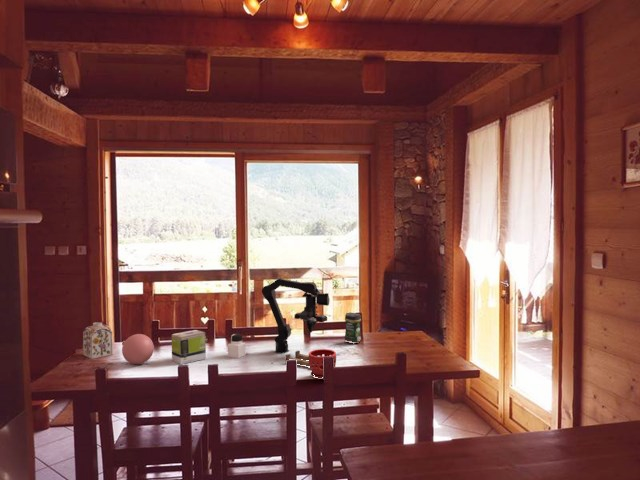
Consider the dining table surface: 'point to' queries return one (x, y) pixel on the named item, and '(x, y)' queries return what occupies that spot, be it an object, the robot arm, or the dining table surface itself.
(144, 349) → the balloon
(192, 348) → the tea box
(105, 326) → the decorative jar
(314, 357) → the plant pot
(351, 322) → the coffee jar
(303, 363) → the chute
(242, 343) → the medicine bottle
